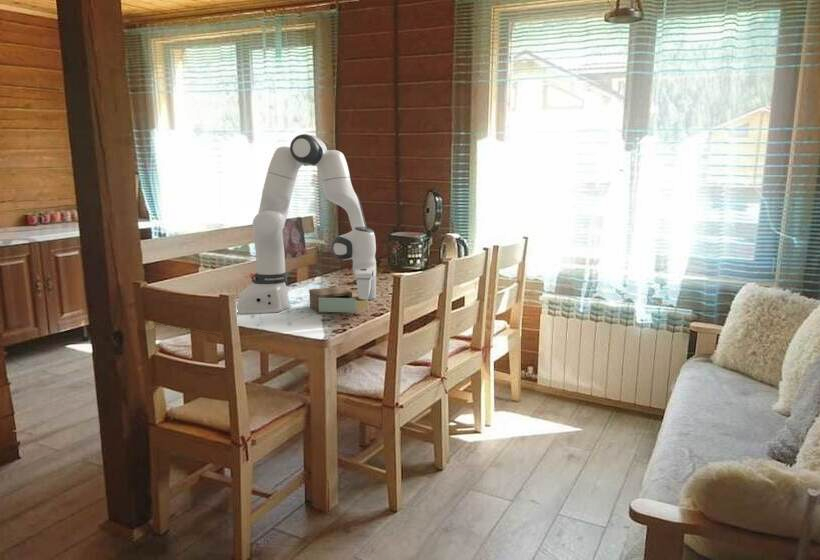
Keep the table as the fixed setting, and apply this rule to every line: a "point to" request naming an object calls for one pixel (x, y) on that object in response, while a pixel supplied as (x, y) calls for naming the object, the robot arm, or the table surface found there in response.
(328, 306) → the green yellow-tipped stick
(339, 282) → the table surface
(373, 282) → the can
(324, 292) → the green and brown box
